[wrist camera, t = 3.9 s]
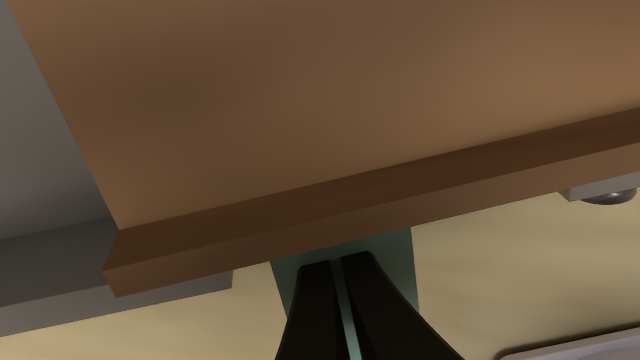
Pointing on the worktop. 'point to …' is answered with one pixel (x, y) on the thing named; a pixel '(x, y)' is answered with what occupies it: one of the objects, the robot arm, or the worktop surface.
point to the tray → (54, 210)
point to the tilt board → (329, 122)
